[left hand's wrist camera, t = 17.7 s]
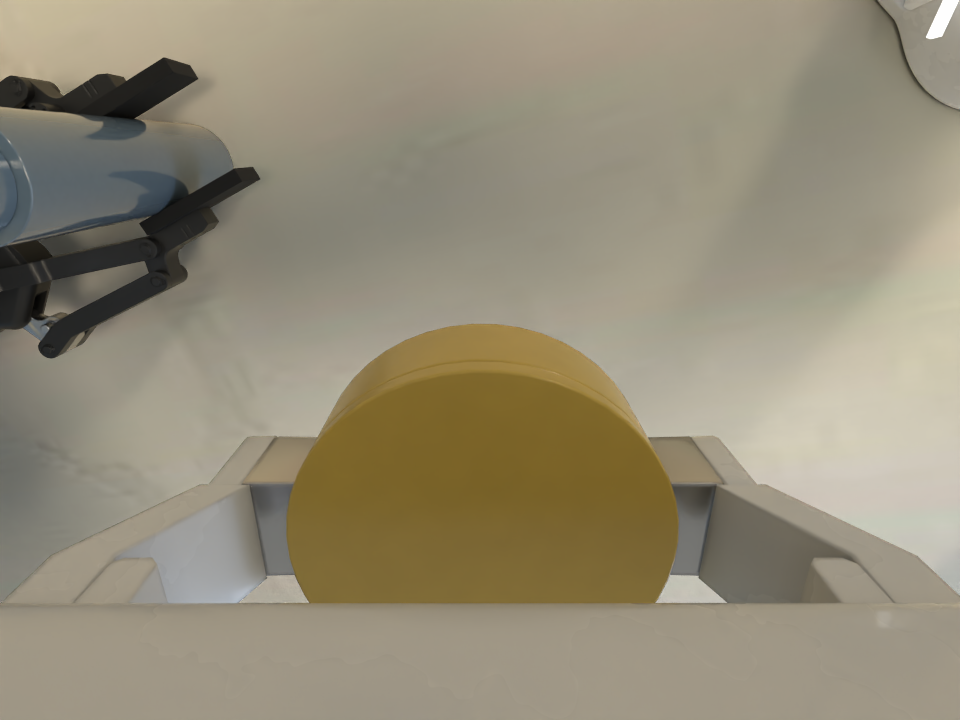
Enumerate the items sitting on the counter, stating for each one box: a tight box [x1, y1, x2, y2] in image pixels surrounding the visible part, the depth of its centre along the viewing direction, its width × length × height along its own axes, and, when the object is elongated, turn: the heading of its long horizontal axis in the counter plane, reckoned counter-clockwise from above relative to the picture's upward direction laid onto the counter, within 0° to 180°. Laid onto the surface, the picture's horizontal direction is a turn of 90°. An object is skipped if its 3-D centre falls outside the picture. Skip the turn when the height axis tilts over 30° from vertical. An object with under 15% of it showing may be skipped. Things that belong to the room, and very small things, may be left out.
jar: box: [0, 106, 233, 248], centre depth 27 cm, size 5×5×20 cm
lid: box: [286, 324, 679, 603], centre depth 9 cm, size 6×6×2 cm
